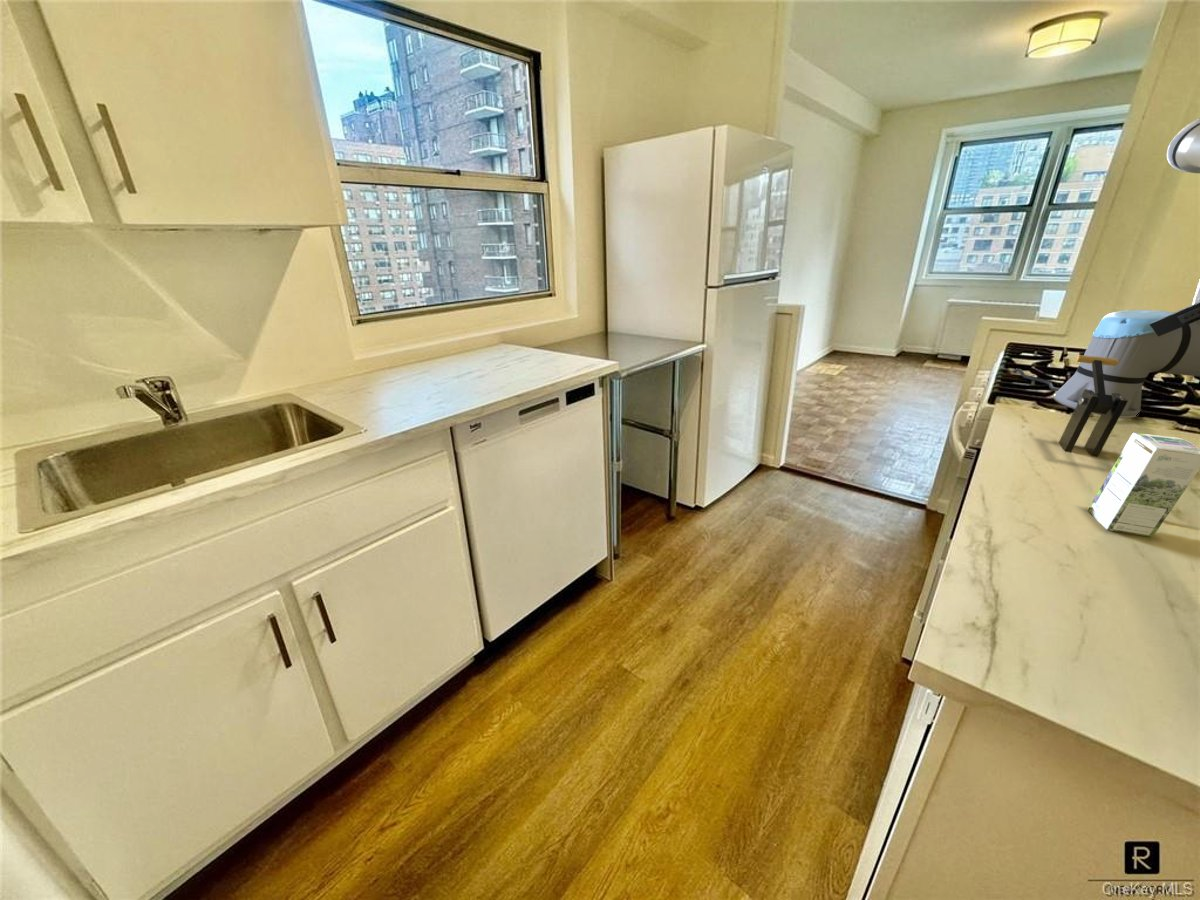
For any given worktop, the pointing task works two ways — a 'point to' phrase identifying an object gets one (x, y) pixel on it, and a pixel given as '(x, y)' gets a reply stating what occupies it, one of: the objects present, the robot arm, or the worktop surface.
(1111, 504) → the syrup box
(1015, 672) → the worktop surface
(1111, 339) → the robot arm
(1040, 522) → the worktop surface
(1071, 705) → the worktop surface
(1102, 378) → the tap lever
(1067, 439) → the bracket
